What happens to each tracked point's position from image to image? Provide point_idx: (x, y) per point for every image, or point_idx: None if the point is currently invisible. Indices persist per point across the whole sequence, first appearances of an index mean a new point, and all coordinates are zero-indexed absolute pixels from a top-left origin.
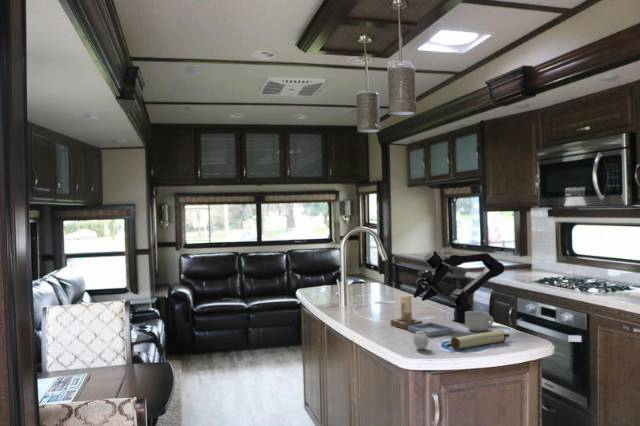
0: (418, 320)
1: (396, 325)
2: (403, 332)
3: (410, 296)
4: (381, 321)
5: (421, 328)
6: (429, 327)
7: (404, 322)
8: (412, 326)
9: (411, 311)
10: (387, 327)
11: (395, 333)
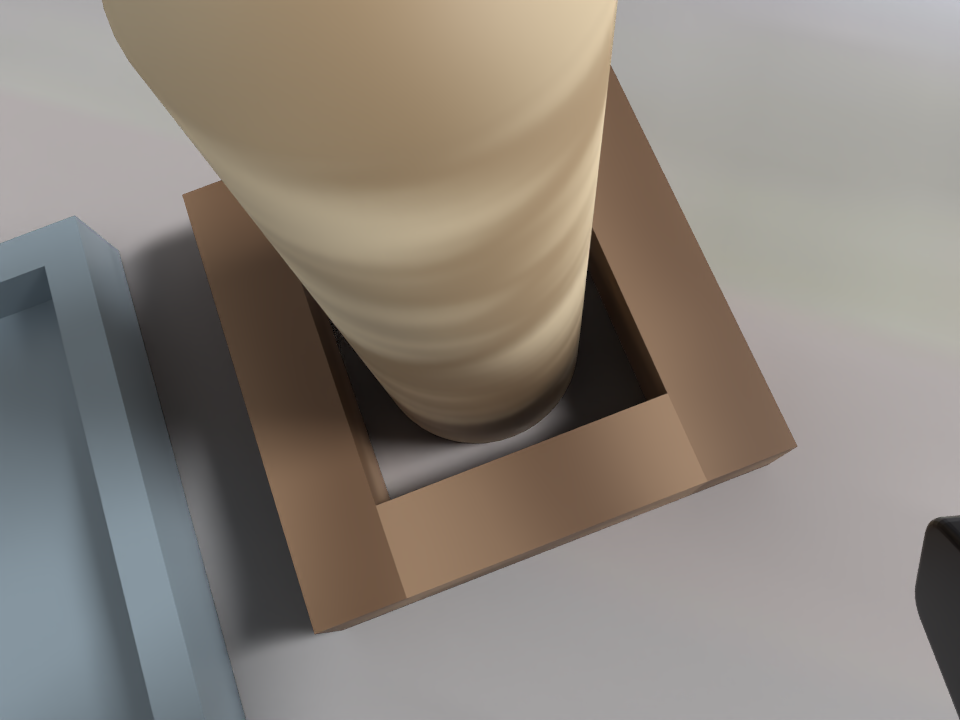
0: (401, 566)
1: None
2: (50, 159)
3: (305, 116)
4: (920, 13)
5: (86, 502)
6: (102, 693)
7: None
8: (61, 307)
9: (359, 345)
10: None
11: (40, 35)
